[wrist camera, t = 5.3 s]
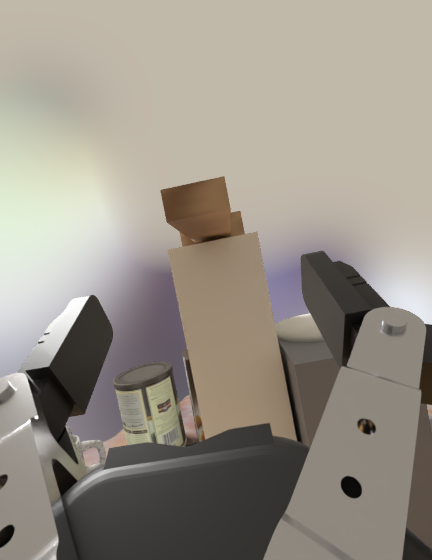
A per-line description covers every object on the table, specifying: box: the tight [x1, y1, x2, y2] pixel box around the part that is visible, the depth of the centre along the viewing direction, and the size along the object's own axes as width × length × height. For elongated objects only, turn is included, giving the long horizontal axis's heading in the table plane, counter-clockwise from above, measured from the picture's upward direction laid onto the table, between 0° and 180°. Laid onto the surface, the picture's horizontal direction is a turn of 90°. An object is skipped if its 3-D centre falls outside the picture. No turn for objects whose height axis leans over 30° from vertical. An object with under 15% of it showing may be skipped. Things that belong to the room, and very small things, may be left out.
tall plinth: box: [168, 232, 297, 441], centre depth 35 cm, size 9×14×32 cm, turn 177°
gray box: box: [275, 314, 432, 549], centre depth 31 cm, size 10×15×21 cm, turn 177°
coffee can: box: [113, 362, 187, 447], centre depth 51 cm, size 10×10×14 cm
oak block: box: [161, 177, 245, 247], centre depth 29 cm, size 7×23×3 cm, turn 177°
